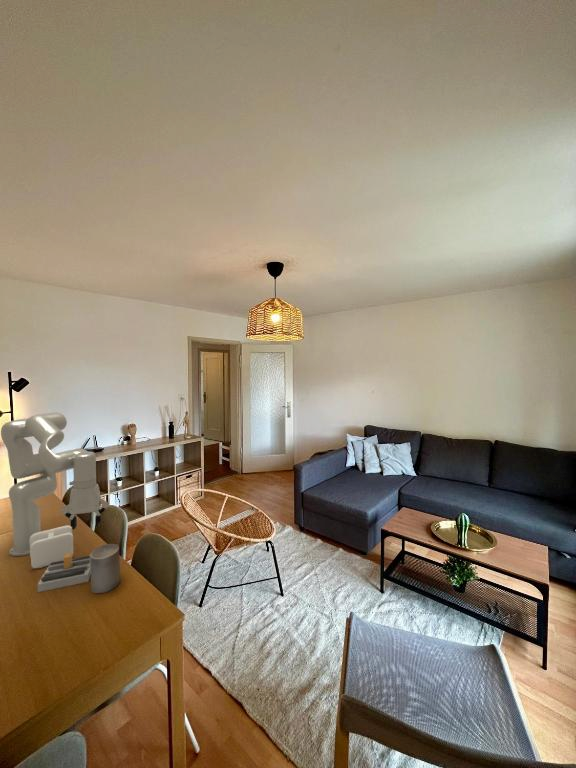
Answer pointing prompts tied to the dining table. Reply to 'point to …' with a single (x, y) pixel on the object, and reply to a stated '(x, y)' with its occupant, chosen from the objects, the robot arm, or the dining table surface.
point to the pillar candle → (105, 568)
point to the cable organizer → (50, 546)
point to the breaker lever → (68, 561)
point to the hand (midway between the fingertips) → (86, 525)
